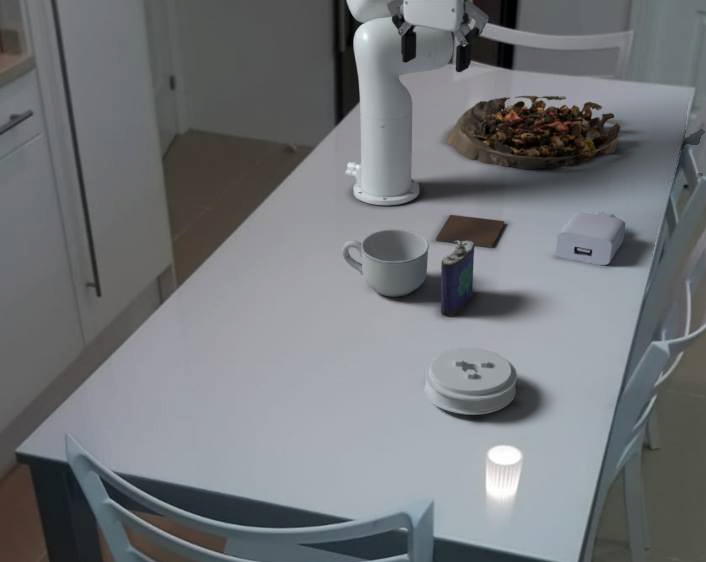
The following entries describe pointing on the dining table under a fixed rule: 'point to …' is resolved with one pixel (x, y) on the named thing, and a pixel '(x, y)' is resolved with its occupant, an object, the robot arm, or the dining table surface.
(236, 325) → the dining table surface
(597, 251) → the charger
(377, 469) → the dining table surface
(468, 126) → the food dish
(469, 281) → the dark blue piece
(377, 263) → the teacup
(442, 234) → the board
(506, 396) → the lid
